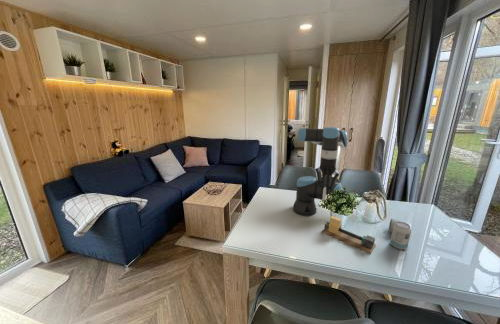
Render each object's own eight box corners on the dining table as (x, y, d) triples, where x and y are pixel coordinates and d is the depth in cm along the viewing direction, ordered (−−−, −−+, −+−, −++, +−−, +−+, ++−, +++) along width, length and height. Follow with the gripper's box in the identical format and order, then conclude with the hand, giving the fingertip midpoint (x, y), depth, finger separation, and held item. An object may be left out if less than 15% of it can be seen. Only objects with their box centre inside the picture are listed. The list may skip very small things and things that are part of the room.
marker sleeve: (328, 230, 111) (329, 218, 109) (331, 227, 114) (333, 215, 112) (337, 234, 107) (338, 221, 105) (340, 231, 110) (342, 218, 108)
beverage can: (405, 243, 102) (409, 222, 99) (408, 252, 96) (414, 230, 93) (388, 240, 105) (392, 219, 102) (391, 248, 99) (395, 227, 96)
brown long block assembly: (322, 232, 112) (322, 223, 110) (328, 226, 117) (329, 218, 116) (370, 254, 95) (372, 244, 94) (375, 246, 101) (377, 236, 99)
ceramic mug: (407, 239, 105) (410, 226, 103) (388, 234, 109) (390, 222, 107) (405, 229, 113) (408, 217, 111) (388, 225, 118) (390, 213, 116)
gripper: (313, 156, 106) (310, 197, 113) (338, 161, 97) (333, 205, 104) (320, 154, 111) (317, 193, 118) (344, 158, 102) (339, 200, 109)
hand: (324, 199), depth 111 cm, fingers closed
